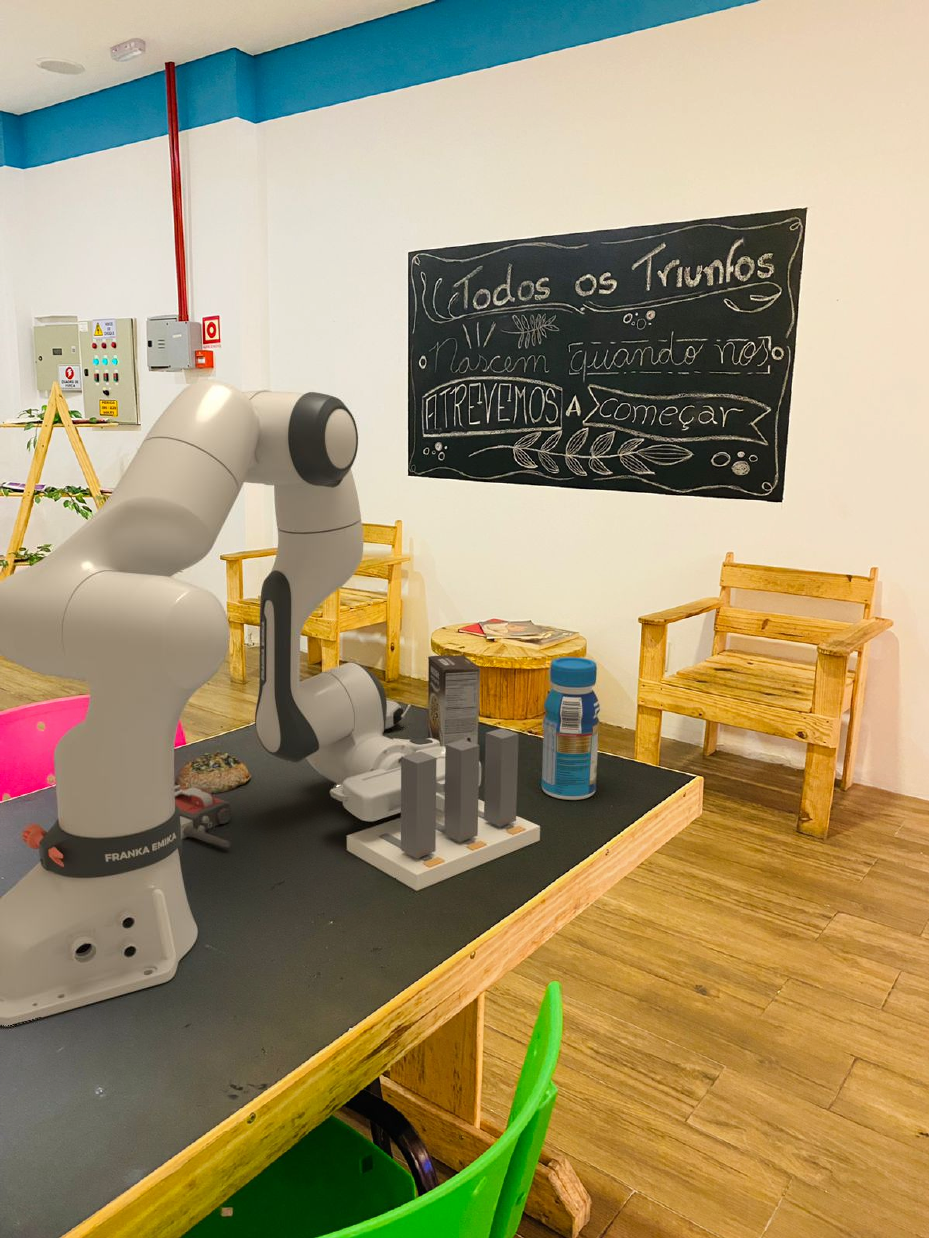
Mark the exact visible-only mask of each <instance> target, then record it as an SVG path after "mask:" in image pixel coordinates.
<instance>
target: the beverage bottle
mask: <svg viewBox="0 0 929 1238" xmlns="http://www.w3.org/2000/svg"><path fill="white" fill-rule="evenodd" d="M549 670H550V672H549V673H550V674H549V677H550V678H549V679H550V680H549V681H550V683H551V685H552V686H553V687H552V688H551V689H550V691H549V692H548V694H547V696H546V698H545V701H544V705H543V706H544V711H545V714H544V716H543V719H542V729H543V733H542V735H543V738H542V771H541V775H542V776H541V789H542V791H543V792H544V793H545V794H547V795H548V796H551V797H552V798H555V799H561V800H566V801H567V800H569V801H577V800H578V801H579V800H584V799H587V798H589V797H591V796H593V795H594V794H595V792H596V791H597V767H598V751H599V750H598V749H599V735H600V734H599V732H600V730H601V722H600V719H599V718H598V715H599V712H600V710H601V706H600V702H599V699H598V697H597V695H596V693H595V690H593V688H594V687H595V686H596V683H597V675H598V673H597V671H598V667H597V663H596V661H593V660H591V659H589V658H584V657H572V656H567V657H566V656H565V657H558V658H554V659H553V660H551V663H550V669H549Z"/></svg>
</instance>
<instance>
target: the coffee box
mask: <svg viewBox="0 0 929 1238" xmlns="http://www.w3.org/2000/svg"><path fill="white" fill-rule="evenodd" d="M427 659H428V664H427V665H428V666H427V667H428V669H427V670H428V681H427V682H428V683H427V685H428V689H427V691H428V692H427V693H428V696H427V698H428V700H427V701H428V702H427V703H428V704H427V705H428V707H427V709H428V712H427V714H428V715H427V717H428V718H427V722H428V725H427V727H428V728H427V738H433V739H436V740H438V741H439V742H440V746H444V747H445V744H449V743H452V742H456V741H459V740H463V739H464V740H466V741H469V742H472V743H474V744H477V745H479V723H480V721H479V717H480V686H481V685H480V684H481V679H480V678H481V667H480V666H478V665H477V664H476V663H474V662H473V661H472V660H471V659H469V658H468V657H467V656H465V655H464V654H457V655H455V654H454V655H452V654H451V655H450V654H449V655H448V654H447V655H446V654H444V655H430V656H429V655H428V657H427Z"/></svg>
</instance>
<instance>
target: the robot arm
mask: <svg viewBox="0 0 929 1238" xmlns="http://www.w3.org/2000/svg"><path fill="white" fill-rule="evenodd" d="M165 408H166V409H164V410H163V412H162V414H161V415H160V416H159V417H158V418H157V420H155V423H154V424H153V425H152V426H151V428H150V430H149V431H148V433H147V434H146V436H145V437H144V438H143V441H142V442H141V444H140V446H139V448H138V450H137V452H136V453H135V455H134V457H133V458H132V460H131V462H130V463H129V464H128V466H127V468H126V470H125V471H124V473H123V475H122V476H121V478H120V480H119V481H118V482H117V484H116V486H115V488H113V491H112V492H111V493H110V495H109V497H108V498H107V499H106V501H105V502H104V504H102V506H101V507H100V508H99V509H98V510H97V511H96V513H94V515H93V516H91V517H90V519H89V520H88V521H86V522H85V523H84V524H83V525H82V526H81V527H79V529H78V530H77V531H76V532H74V534H72V535H71V536H70V537H69V538H68V539H66V540H65V541H64V542H63V543H62V544H61V545H59V546H58V547H57V548H56V549H55V550H54V551H53V550H52V552H50V553H49V554H48V555H46V556H45V557H43V558H42V559H41V560H38V561H37V562H35V563H34V564H32V565H30V566H28V567H25V568H23V569H22V570H19V571H16V572H14V573H12V574H10V575H8V576H6V577H5V578H4V579H3V580H1V581H0V656H1V657H3V659H5V660H8V661H10V662H12V663H14V664H16V665H18V666H20V667H22V668H24V669H27V670H30V671H31V672H34V673H37V674H39V675H43V676H49V677H55V678H62V679H67V680H73V681H81V682H86V683H87V686H88V689H89V701H88V708H87V711H86V715H85V718H84V720H83V721H81V722H79V723H78V724H76V725H74V726H73V727H72V728H70V729H69V730H68V731H67V732H66V733H65V734H64V735H63V736H62V737H61V738H60V739H59V740H58V742H57V744H56V746H55V749H54V752H53V753H54V754H53V764H54V778H55V792H56V804H57V806H56V808H57V819H56V820H55V822H54V824H53V825H52V826H51V827H50V829H49V830H48V831H46V830H45V829H44V828H43V827H42V826H41V825H40V824H37V823H33V824H30V825H27V826H26V827H25V828H24V831H23V830H22V835H21V839H22V841H23V842H24V843H25V844H27V846H28V847H29V848H30V849H33V850H39V862H38V863H37V864H36V865H35V866H34V867H33V868H32V869H31V870H29V872H28V873H26V874H25V875H24V876H23V877H22V878H21V879H20V880H19V881H18V882H17V883H16V884H15V885H14V886H13V887H11V888H10V889H9V890H8V891H7V892H6V893H5V894H4V895H3V896H1V898H0V1026H1V1025H2V1027H11V1026H10V1025H12V1024H14V1023H18V1022H22V1021H27V1020H31V1021H33V1020H32V1019H34V1020H36V1019H35V1018H37V1017H41V1018H45V1017H48V1016H52V1015H55V1014H59V1013H62V1012H65V1011H70V1010H73V1009H77V1008H79V1007H84V1006H86V1005H90V1004H93V1003H97V1002H100V1001H104V1000H107V999H111V998H115V997H118V996H121V995H125V994H129V993H132V992H135V991H139V990H143V989H146V988H149V987H153V986H157V985H161V984H164V983H167V982H169V981H170V980H172V979H173V978H174V977H175V974H176V972H177V969H178V966H179V962H180V961H181V959H182V958H183V957H184V956H185V955H186V954H187V953H188V952H189V951H190V950H191V949H192V948H193V946H194V944H195V943H196V940H197V938H198V932H199V931H198V926H197V925H198V924H197V923H196V922H195V918H194V916H193V913H192V911H191V908H190V903H189V902H188V896H187V893H186V888H185V883H184V879H183V878H184V877H183V873H182V867H181V860H180V858H181V856H182V850H183V848H182V847H183V846H182V845H183V844H182V840H183V839H182V828H181V821H180V811H179V807H178V806H177V805H176V804H175V791H174V785H175V744H176V743H175V742H176V735H177V731H178V726H179V722H180V719H181V716H182V714H183V713H184V709H185V707H186V705H187V704H188V702H189V701H190V699H191V698H192V697H193V696H194V694H195V693H196V692H197V691H198V690H200V688H203V686H205V685H206V684H207V683H208V682H210V680H212V679H213V678H214V677H215V675H216V674H217V673H218V671H219V670H220V668H221V667H222V665H223V663H224V662H225V659H226V656H227V654H228V650H229V646H230V624H229V619H228V616H227V613H226V610H225V608H224V607H223V605H222V602H221V601H220V600H219V598H218V597H217V596H216V595H215V593H212V592H211V591H209V590H208V589H204V588H202V587H200V586H197V585H194V584H192V583H188V582H185V581H183V580H179V579H177V578H173V576H174V575H175V574H177V573H180V572H181V571H184V570H186V569H189V568H190V567H193V566H194V565H196V564H198V563H199V562H200V561H202V560H203V559H204V558H205V557H206V556H207V555H208V554H209V553H210V551H211V550H212V548H213V547H214V545H215V543H216V540H217V538H218V536H219V534H220V533H221V531H222V528H223V527H224V525H225V522H226V521H227V518H228V516H229V515H230V512H231V511H232V508H233V506H234V504H235V502H236V500H237V498H238V496H239V495H240V492H241V490H242V488H243V486H244V484H245V483H247V484H248V483H250V484H262V485H265V486H273V491H274V492H273V493H274V494H273V496H274V497H273V499H274V509H275V510H274V513H275V520H276V521H275V522H276V527H277V529H276V530H277V549H276V555H275V559H274V563H273V565H272V568H271V571H270V572H269V574H268V575H267V576H266V578H265V579H264V580H263V583H262V584H261V585H262V586H261V590H260V605H259V653H258V655H259V658H258V659H259V665H258V666H259V671H258V673H259V675H258V677H259V682H258V683H259V684H258V686H259V687H258V688H259V689H258V696H257V702H256V707H255V712H254V713H255V715H254V725H255V731H256V734H257V738H258V740H259V742H260V744H261V746H262V748H263V749H264V750H265V751H266V752H268V754H271V755H272V756H274V757H276V758H277V759H281V760H283V761H287V762H292V763H299V762H301V761H303V760H305V759H306V760H307V761H308V763H309V764H310V765H311V767H313V769H315V771H316V772H318V773H319V774H320V775H321V776H323V777H325V778H326V779H328V780H330V781H331V782H333V783H334V785H333V787H332V788H331V789H330V790H329V794H330V797H332V798H333V799H335V800H337V801H339V802H342V806H343V808H344V809H346V810H347V811H348V813H350V814H352V816H355V817H356V818H357V819H359V820H361V821H362V822H363V821H365V822H375V821H378V820H381V819H384V818H388V817H390V816H393V815H397V814H399V813H400V814H401V757H402V756H405V755H409V754H412V753H416V752H420V751H421V752H424V753H426V754H428V755H431V756H433V757H436V758H437V761H436V808H437V809H439V810H442V811H444V810H445V747H444V746H440V742H439V741H438V740H436V739H433V738H428V737H427V738H416V739H415V738H414V739H402V738H396V737H395V738H390V737H386V736H385V735H383V734H384V732H385V730H386V729H385V725H386V713H387V700H388V699H387V696H386V692H385V691H386V690H385V689H384V685H383V684H382V682H381V680H380V678H378V677H377V676H376V675H375V674H374V673H373V672H372V671H371V670H370V669H368V668H367V667H366V666H364V665H362V664H360V663H357V662H354V661H348V662H347V663H343V664H341V665H338V666H335V667H332V668H330V669H328V670H327V669H326V670H325V671H322V672H320V673H318V674H317V675H314V676H310V677H308V678H306V679H304V680H301V677H300V676H301V675H300V673H301V636H302V631H303V628H304V625H305V624H306V622H307V620H308V619H309V618H310V617H311V615H312V614H313V613H314V611H316V609H317V608H318V607H319V606H320V605H321V604H322V603H324V601H326V599H328V598H330V596H332V595H333V594H334V593H335V592H337V591H338V590H339V589H341V588H342V587H343V586H345V584H347V582H349V580H350V579H351V578H352V577H353V576H354V574H355V573H356V571H357V570H358V568H359V567H360V565H361V562H362V559H363V555H364V532H363V531H364V530H363V529H364V528H363V521H362V516H361V515H362V514H361V508H360V501H359V496H358V492H357V487H356V482H355V479H354V474H353V472H352V467H353V465H354V463H355V460H356V458H357V453H358V450H359V449H358V448H359V433H358V427H357V424H356V420H355V418H354V416H353V414H352V412H351V411H350V409H349V408H348V407H347V406H346V404H345V403H344V402H343V401H342V400H341V399H340V398H339V397H336V396H333V395H330V394H326V393H321V392H314V391H309V392H306V393H301V392H293V391H292V392H291V391H272V390H269V389H268V390H249V391H241V390H240V389H238V388H236V387H235V386H233V385H230V384H228V383H227V382H222V381H219V380H215V379H214V380H213V379H204V380H203V379H202V380H199V381H195V382H193V383H191V384H189V385H187V386H186V387H184V389H182V391H181V392H180V393H178V395H177V396H176V397H175V398H174V399H172V402H170V403H169V405H167V407H165ZM481 782H482V763H481V761H480V760H479V787H480V786H481ZM27 1022H28V1021H27ZM3 1025H4V1026H3ZM8 1025H9V1026H8ZM12 1026H13V1025H12Z"/></svg>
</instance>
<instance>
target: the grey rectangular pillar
mask: <svg viewBox="0 0 929 1238" xmlns="http://www.w3.org/2000/svg"><path fill="white" fill-rule="evenodd" d="M480 747H481V745H480V744H478V745H477V744H474V743H472V742H469V741H466V740H464V739H463V740H459V741H456V742H452V743H449V744H445V816H444V835H446V836H449V837H451V838H453V839H455V840H457V841H459V842H462V841H465V840H467V839H470V838H473V837H475V836H478V799H479V792H480V791H479V789H480V786H479V761H480Z"/></svg>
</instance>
